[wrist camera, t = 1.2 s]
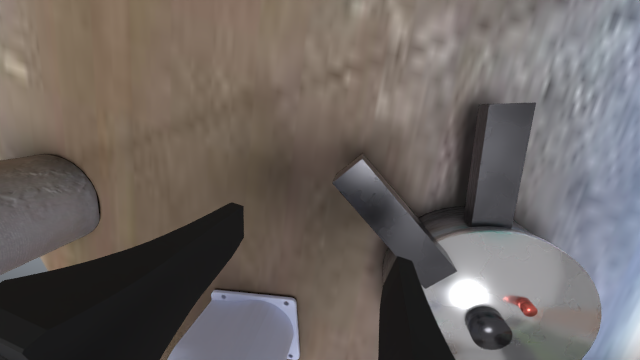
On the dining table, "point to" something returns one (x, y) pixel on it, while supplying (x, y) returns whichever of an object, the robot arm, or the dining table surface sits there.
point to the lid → (484, 279)
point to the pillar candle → (42, 207)
